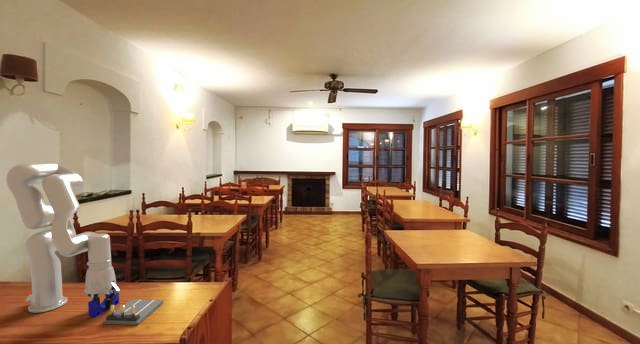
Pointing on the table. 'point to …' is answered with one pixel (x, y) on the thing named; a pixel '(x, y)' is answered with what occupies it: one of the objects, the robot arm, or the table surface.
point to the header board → (137, 311)
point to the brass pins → (123, 314)
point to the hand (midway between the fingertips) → (102, 307)
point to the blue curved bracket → (100, 306)
